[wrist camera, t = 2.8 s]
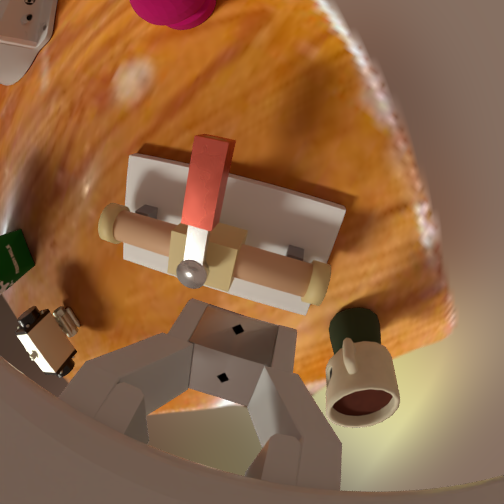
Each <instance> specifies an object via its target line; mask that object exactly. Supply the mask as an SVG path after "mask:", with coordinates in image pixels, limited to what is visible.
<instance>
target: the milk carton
mask: <svg viewBox="0 0 504 504" xmlns="http://www.w3.org/2000/svg"><path fill="white" fill-rule="evenodd" d="M34 266H35V264H34V261H33V259H32V257H31V254H30V252H29V249H28V247H27V244H26V241H25V239H24V236H23V233H22V230H21V229H20V230H17V231H13V232H10V233H7V234H4V235H1V236H0V294H2V293H3V292H4V291H5V290H7V289H8V288H9V287H10V286H12V285H13V284H14V283H15V282H16V281H17V280H18V279H20V278H21V277H22V276H23V275H24V274H25V273H27V272H28V271H29V270H30V269H31V268H32V267H34Z"/></svg>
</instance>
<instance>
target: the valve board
mask: <svg viewBox="0 0 504 504" xmlns="http://www.w3.org/2000/svg"><path fill="white" fill-rule="evenodd" d="M189 166H190V164H187V163H183V162H178V161H173V160H169V159H164V158H159V157H154V156H149V155H144V154H138V153H135V154H132V155H129V163H128V173H127V185H126V199H125V206H123V205H119V204H116V203H110V204H108V205H107V206H106V207H105V209H104V210H103V212H102V214H101V216H100V219H99V223H98V232H99V236H100V238H101V239H103V240H106V241H109V242H112V243H115V244H119V243H120V242H124V259H125V260H128V261H131V262H134V263H137V264H140V265H143V266H146V267H148V268H151V269H154V270H157V271H160V272H163V273H166V274H169V275H172V276H175V277H177V274H176V269H177V266H178V265H179V264H180V262H181V261H182V260H183V259H184V253H185V246H186V238H187V231H188V225H186V224H183V223H181V219H182V211H183V204H184V197H185V191H186V184H187V178H188V172H189ZM345 212H346V209H345V206H343V205H340V204H336V203H333V202H330V201H327V200H324V199H320V198H317V197H314V196H310V195H307V194H304V193H300V192H297V191H293V190H290V189H286V188H283V187H279V186H276V185H272V184H268V183H265V182H261V181H257V180H254V179H250V178H246V177H242V176H238V175H234V174H230V173H229V175H228V180H227V185H226V190H225V195H224V200H223V205H222V210H221V215H220V220H219V223H218V224H217V225H216V227H215V228H214V229H213V230H212V231H210V237H209V243H208V248H207V254H206V260H205V261H206V263H207V264H208V266H209V270H210V273H209V276H208V278H207V280H206V281H205V283H204V285H203V286H206V287H210V288H213V289H216V290H219V291H222V292H226V293H229V294H232V295H235V296H239V297H242V298H245V299H249V300H252V301H256V302H259V303H262V304H266V305H269V306H273V307H276V308H280V309H283V310H287V311H291V312H294V313H298V314H301V315H306V313H307V311H308V308H309V306H310V304H313V305H317V306H319V305H320V304H321V303H322V301H323V299H324V297H325V294H326V292H327V289H328V285H329V281H330V276H331V265H330V264H327V261H328V259H329V256H330V253H331V251H332V248H333V245H334V243H335V240H336V237H337V234H338V232H339V229H340V226H341V223H342V221H343V218H344V215H345Z"/></svg>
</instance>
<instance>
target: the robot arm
mask: <svg viewBox="0 0 504 504" xmlns="http://www.w3.org/2000/svg"><path fill="white" fill-rule="evenodd" d="M57 1H58V0H0V84H3V85H12V84H14V83H16V82H17V81H18V80H19V79H20V78H21V77H22V76H23V75H24V74H25V73H26V71H27V70H28V68H29V67H30V65H31V64H32V62H33V60H34V58H35V56H36V55H37V53H38V52H39V50H40V49H41V48H42V47H43V46H44V45H45V44H46V43H47V42H48V41H49V39H50V38H51V36H52V32H53V25H54V19H55V12H56V7H57ZM296 338H297V330H296V329H293V328H289V327H285V326H281V325H275V324H272V323H268V322H265V321H261V320H258V319H254V318H251V317H247V316H244V315H241V314H238V313H235V312H232V311H229V310H226V309H223V308H220V307H217V306H214V305H211V304H208V303H205V302H202V301H199V300H196V299H193V298H192V299H190V300H189V301H188V302H187V304H186V306H185V307H184V309H183V310H182V312H181V313H180V315H179V317H178V318H177V320H176V321H175V323H174V325H173V326H172V328H171V329H170V331H169V333H168V334H165V333H160V334H157V335H155V336H152V337H150V338H147V339H145V340H142V341H139V342H137V343H134V344H132V345H129V346H126V347H124V348H121V349H118V350H116V351H113V352H110V353H108V354H105V355H102V356H99V357H97V358H94V359H91V360H88V361H86V362H85V363H84V365H83V366H82V367H81V368H80V370H79V371H78V372H77V374H76V375H75V376H74V377H73V379H72V380H71V381H70V383H69V384H68V385H67V386H66V388H65V389H64V390H63V392H62V393H61V394H60V396H59V397H58V398H57V397H56V396H54V395H53V394H51V393H50V392H48V391H47V390H45V389H44V388H42V387H41V386H39V385H38V384H37V383H35V382H34V381H32V380H31V379H29V378H28V377H26V376H25V375H24V374H23V373H21V372H20V371H19V370H18V369H16V368H15V367H14V366H12V365H11V364H10V363H9V362H7V361H6V360H5V359H3V358H2V357H1V356H0V504H504V475H501V476H498V477H494V478H490V479H485V480H481V481H476V482H472V483H466V484H460V485H454V486H448V487H441V488H432V489H423V490H411V491H391V492H390V491H389V492H361V491H340V482H341V454H342V443H341V442H340V440H339V438H338V437H337V435H336V434H335V432H334V431H333V429H332V427H331V426H330V424H329V423H328V421H327V420H326V418H325V416H324V415H323V413H322V412H321V410H320V409H319V407H318V406H317V404H316V402H315V401H314V399H313V397H312V396H311V394H310V393H309V391H308V390H307V388H306V386H305V385H304V383H303V381H302V380H301V378H300V377H299V375H298V374H295V373H293V366H294V357H295V348H296ZM188 388H190V389H194V390H197V391H200V392H203V393H206V394H210V395H213V396H217V397H220V398H223V399H226V400H229V401H232V402H235V403H238V404H241V405H245V406H248V407H247V408H248V411H249V414H250V416H251V419H252V422H253V425H254V427H255V430H256V433H257V435H258V438H259V441H260V443H261V446H262V450H261V451H260V453H259V454H258V455H257V457H256V458H255V460H254V461H253V463H252V464H251V465H250V466H249V468H248V470H247V471H246V473H245V476H241V475H237V474H233V473H229V472H225V471H222V470H218V469H215V468H211V467H208V466H205V465H201V464H198V463H195V462H192V461H189V460H186V459H183V458H180V457H177V456H175V455H172V454H169V453H167V452H164V451H162V450H159V449H156V448H154V447H152V446H149V445H147V444H148V442H149V436H148V428H147V420H146V415H148V414H150V413H151V412H153V411H155V410H156V409H158V408H159V407H161V406H163V405H164V404H166V403H167V402H169V401H171V400H172V399H174V398H175V397H177V396H178V395H180V394H181V393H183V392H185V391H186V390H188Z"/></svg>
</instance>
